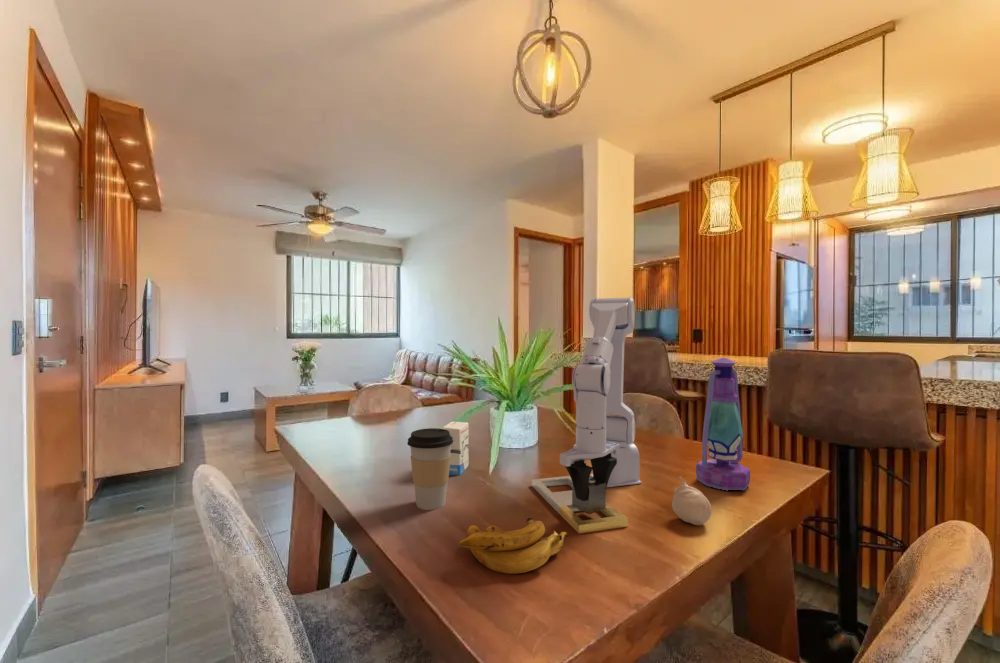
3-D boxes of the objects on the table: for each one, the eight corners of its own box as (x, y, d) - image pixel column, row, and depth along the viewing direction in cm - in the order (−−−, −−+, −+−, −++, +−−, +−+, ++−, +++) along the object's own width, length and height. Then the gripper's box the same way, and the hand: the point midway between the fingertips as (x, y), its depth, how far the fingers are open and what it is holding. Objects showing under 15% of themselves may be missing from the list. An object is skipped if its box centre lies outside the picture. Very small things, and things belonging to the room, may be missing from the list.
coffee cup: (460, 499, 92) (460, 429, 92) (440, 517, 83) (440, 440, 83) (421, 493, 95) (421, 425, 95) (398, 510, 87) (398, 436, 86)
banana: (589, 563, 68) (589, 527, 68) (476, 593, 60) (476, 552, 60) (541, 522, 82) (541, 493, 82) (444, 543, 74) (444, 510, 74)
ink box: (460, 476, 106) (460, 429, 106) (441, 475, 107) (441, 428, 107) (469, 465, 115) (469, 421, 115) (451, 464, 116) (451, 420, 116)
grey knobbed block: (588, 500, 87) (588, 473, 87) (605, 508, 83) (605, 479, 83) (572, 506, 84) (572, 477, 84) (589, 514, 80) (589, 484, 80)
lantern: (719, 472, 110) (720, 355, 110) (764, 487, 100) (765, 358, 99) (682, 480, 104) (683, 356, 104) (726, 497, 94) (727, 360, 93)
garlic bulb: (705, 517, 84) (705, 476, 84) (714, 532, 78) (715, 488, 78) (669, 513, 85) (670, 473, 85) (676, 528, 79) (676, 485, 79)
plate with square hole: (571, 481, 103) (571, 475, 103) (627, 526, 80) (627, 518, 80) (531, 486, 100) (531, 479, 100) (578, 533, 77) (578, 525, 77)
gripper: (600, 418, 90) (600, 482, 91) (548, 426, 82) (548, 497, 82) (628, 424, 85) (627, 493, 85) (575, 434, 76) (574, 510, 76)
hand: (590, 496), depth 83 cm, fingers closed on grey knobbed block, 4 cm apart
